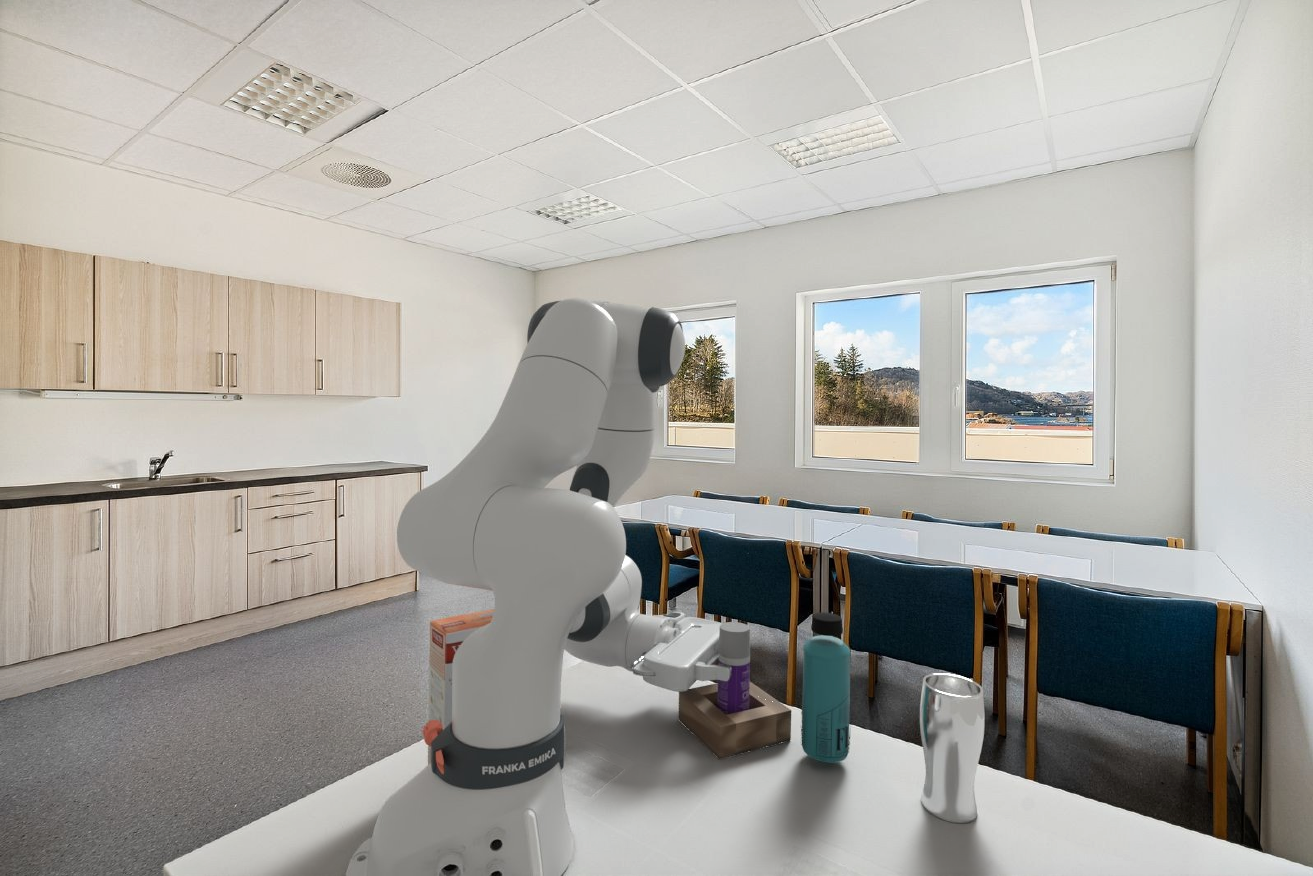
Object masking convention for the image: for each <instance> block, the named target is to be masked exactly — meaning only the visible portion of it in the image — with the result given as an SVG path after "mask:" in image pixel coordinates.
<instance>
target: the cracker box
mask: <svg viewBox="0 0 1313 876" xmlns="http://www.w3.org/2000/svg"><path fill="white" fill-rule="evenodd" d="M493 613H494V608H492V609H487V610H482V611H476V612H470V613H466V614H460V615H454V616H449V617H444V618H440V619H439V618H438V619H434V620H431V621H429V663H428V664H429V665H428V666H429V668H428V670H429V671H428V672H429V673H428V678H429V679H428V722H429V721H432V720H438V721H440V723H442V726H443V730H444V729H445V728H446V727H447V726H448V725H449V724H450V723H451V722H452V663H453V658H454V655H455V653H456V651H457V649H458V648H459V646H460V645H461V643H462V642H463V641H464V640H465V639H466V638H467V637H468V636H469V635H470V634H471V633H473V632H474V631H476V630H477V629H479V628H481V627H483V626H485V625H487V624H489V623H491V620H492V617H493ZM427 746H428V747H427V766H428V765H429V764H430V763H431V746H429V745H427Z"/></svg>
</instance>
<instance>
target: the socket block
mask: <svg viewBox="0 0 1313 876" xmlns="http://www.w3.org/2000/svg"><path fill="white" fill-rule="evenodd" d="M758 696H759V697H758ZM765 699H766V700H765ZM772 701H773V702H772ZM717 703H718V682H717V683H716V682H715V683H713V684H712V683H711V684H708V685H707V684H706V685H703V686H702V685H701V686H698V687H693V688H692V687H690V688H689V689H688V690H687V691H682V692H678V719H679V720H680V721H679V720H678V719H677V720H678V721H679V722H680V723H681V724H682V723H683V724H684V725H685V726H686V727H685V726H684V725H683V724H682V725H683V726H684V727H685V728H686V729H687V728H688V729H689V730H688V729H687V730H688V731H689V732H690V733H691V732H692V733H693V734H692V733H691V734H692V735H693V737H695V738H696V739H698V740H699V742H701V743H702V744H703V746H705V747H706V749H708V750H709V751H710V753H711V754H713V755H714V756H715V757H716V758H717V760H720V761H721V760H724V759H728V758H731V757H732V758H733V757H735V756H738V755H739V756H740V755H742V753H743V754H746V752H747V753H749V752H748V751H751V752H754V751H757V749H758V750H761V749H760V748H762V749H764V748H763V747H766V746H770V747H773V746H776V745H775V744H777V745H780V744H779V743H781V742H785V743H788V742H791V741H790V740H792V737H791V736H792V710H791V708H789V707H787V706H786V705H784V704H783V703H782V702H780V701H779V700H777V699H776V698H775V697H773V696H772V695H770V694H769V693H767V692H766V691H764V690H763V689H761V688H760V687H759V686H757V685H755V683H753V682H751V681H750V688H749V710H745V711H741V712H737V713H732V714H728V715H726V714H724V713H723V712H722V711H721V710H720V709H718V708H717ZM781 744H782V743H781ZM772 745H773V746H772ZM766 748H767V747H766Z"/></svg>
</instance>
